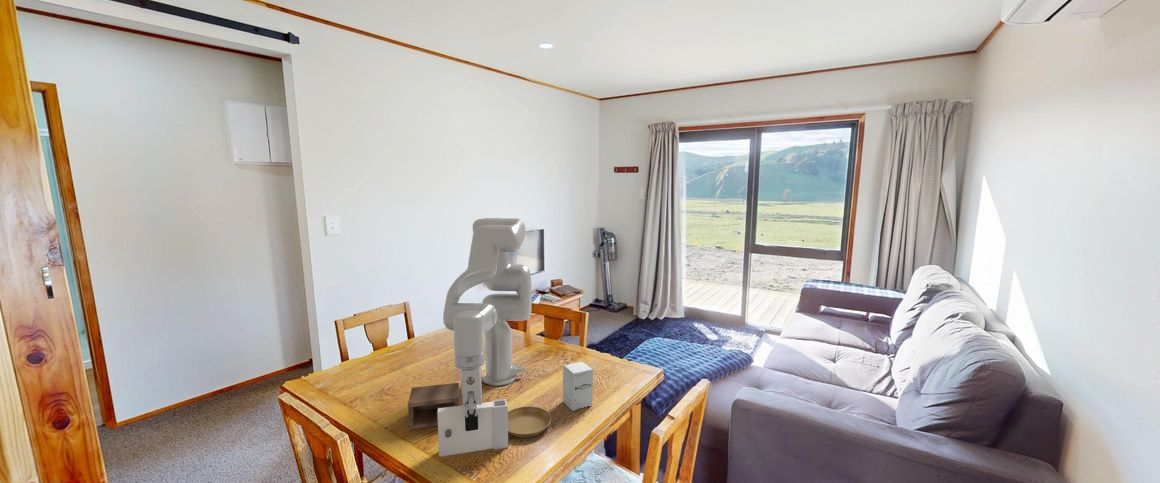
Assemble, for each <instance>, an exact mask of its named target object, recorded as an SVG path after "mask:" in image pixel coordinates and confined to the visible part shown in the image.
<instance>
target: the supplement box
mask: <svg viewBox="0 0 1160 483" xmlns="http://www.w3.org/2000/svg"><path fill="white" fill-rule="evenodd" d="M593 370H594V369H593V368H592V367H591V366H590V365H588V364H586V363H585V362H584V361H579V362H574V363H568V364H564V365H562V371H563V372H562V402H563V403H564V404H565V405H566V406H567V407H568V409H570V410H571V411H572V412H574V411H577V410H581V409H585V408H588V407H587V406H589V407H592V406H593V387H594V386H593V380H594V374H593V372H594V371H593ZM591 405H592V406H591ZM584 407H585V408H584ZM580 408H581V409H580Z"/></svg>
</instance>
